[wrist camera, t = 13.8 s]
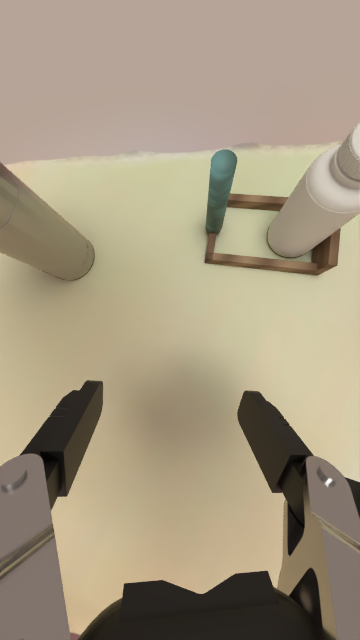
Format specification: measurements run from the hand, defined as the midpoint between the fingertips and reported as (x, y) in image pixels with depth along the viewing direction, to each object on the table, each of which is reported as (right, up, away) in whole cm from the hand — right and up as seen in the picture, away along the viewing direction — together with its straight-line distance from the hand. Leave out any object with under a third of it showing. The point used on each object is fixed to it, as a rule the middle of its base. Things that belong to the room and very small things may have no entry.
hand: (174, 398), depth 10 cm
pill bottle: (+19, +19, +20) cm, 34 cm away
